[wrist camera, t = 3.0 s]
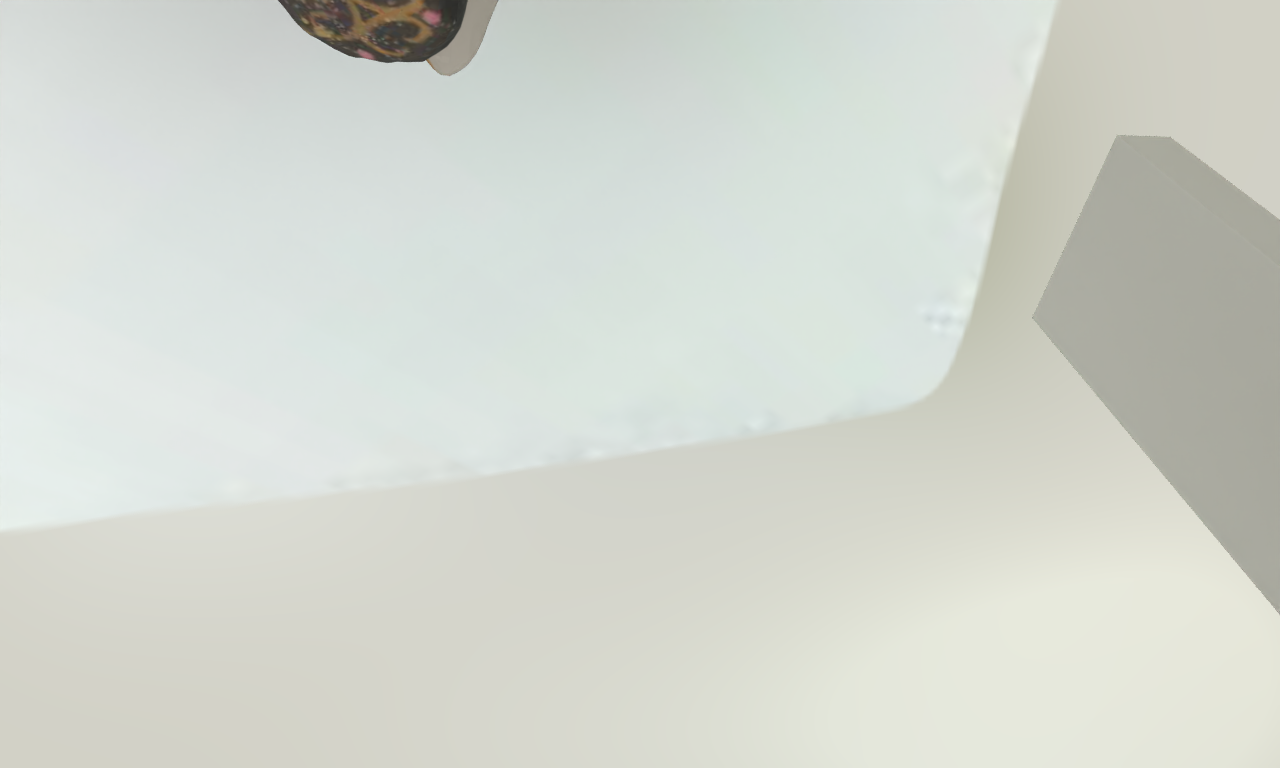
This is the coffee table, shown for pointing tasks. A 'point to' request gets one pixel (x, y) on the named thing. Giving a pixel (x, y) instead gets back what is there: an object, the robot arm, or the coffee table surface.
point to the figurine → (398, 28)
